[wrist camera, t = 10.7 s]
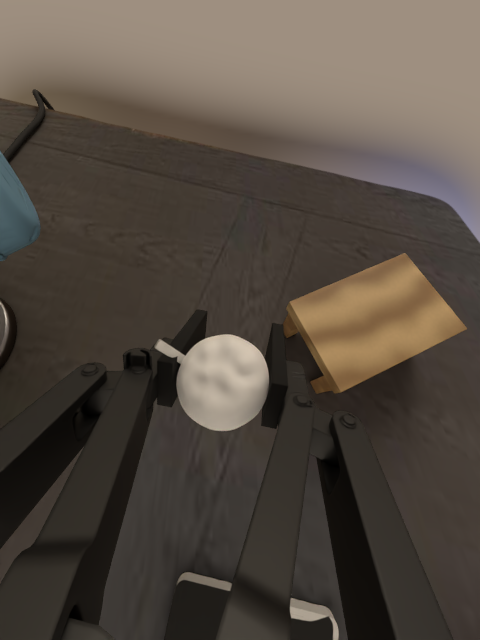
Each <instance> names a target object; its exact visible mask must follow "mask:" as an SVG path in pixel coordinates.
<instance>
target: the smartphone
mask: <svg viewBox="0 0 480 640" xmlns="http://www.w3.org/2000/svg"><path fill="white" fill-rule="evenodd" d="M231 586H232V583H230V582H226V581H222V580H218V579H214V578H210V577H206V576H202V575H198V574H194V573H190V572H185V573H183V574H182V575H181V576H180V578H179V580H178V582H177V585H176V588H175V591H174V596H173V601H172V605H171V610H170V615H169V619H168V624H167V629H166V633H165V638H164V640H216V636H217V633H218V630H219V626H220V623H221V619H222V616H223V613H224V609H225V606H226V602H227V599H228V596H229V592H230V589H231ZM290 614H291V636H290V640H338V626H337V624H336V621H335V619H334V617H333V615H332V613H331V611H330V610H329V609H328V608H327V607H325V606H321V605H317V604H313V603H309V602H306V601H302V600H298V599H294V598H291V600H290Z"/></svg>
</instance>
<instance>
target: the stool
mask: <svg viewBox="0 0 480 640" xmlns="http://www.w3.org/2000/svg"><path fill="white" fill-rule="evenodd" d="M286 309H287V311H288V315H287V317H286V319H285V321H284V323H283V327H284V335H285V336H286V338H288V337H290V336H292V335H295V334H297V332H298V331H299V332H300V334H301V336H302V338H303V339H304V341H305V343H306V345H307V347H308V348H309V350H310V352H311V354H312V355H313V357H314V359H315V361H316V363H317V364H318V366H319V368H320V370H321V371H322V373H323V376H321V377H319V378H317V379H315V380H312V381H310V383H311V385H312V387H313V388H314V390H315V392H316V394H318V393H322V392H327V391H331V390H332V391H333V393H334V394H335V393H340V392H343V391H345V390H347V389H349V388H351V387H353V386H355V385H357V384H359V383H361V382H363V381H365V380H367V379H369V378H371V377H373V376H375V375H377V374H379V373H381V372H383V371H385V370H387V369H389V368H391V367H393V366H395V365H397V364H399V363H401V362H403V361H404V360H406V359H408V358H410V357H412V356H414V355H416V354H418V353H420V352H422V351H424V350H426V349H428V348H430V347H432V346H434V345H436V344H438V343H440V342H442V341H444V340H446V339H448V338H450V337H452V336H454V335H456V334H458V333H460V332H462V331H464V330H466V329H467V328H466V327H465V325H464V324H463V323H462V322H461V321H460V319H459V318H458V317H457V316H456V314H455V313H454V312H453V311H452V310H451V308H450V307H449V306H448V305H447V303H446V302H445V301H444V300H443V299H442V297H441V296H440V295H439V294H438V292H437V291H436V290H435V289H434V288H433V286H432V285H431V284H430V283H429V281H428V280H427V279H426V278H425V277H424V275H423V274H422V273H421V272H420V271H419V269H418V268H417V267H416V266H415V264H414V263H413V262H412V261H411V260H410V258H409V257H408V256H407V255H406V253H404V254H402V255H399V256H397V257H394V258H392V259H390V260H387V261H385V262H383V263H380V264H378V265H376V266H373V267H371V268H369V269H366V270H364V271H361V272H359V273H357V274H354V275H352V276H350V277H347V278H345V279H343V280H340V281H338V282H335V283H333V284H331V285H328V286H326V287H324V288H321V289H319V290H317V291H314V292H312V293H309V294H307V295H305V296H302V297H300V298H298V299H295V300H293V301H291V302H289V304H288V306H287V308H286Z"/></svg>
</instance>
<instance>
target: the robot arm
mask: <svg viewBox="0 0 480 640" xmlns="http://www.w3.org/2000/svg"><path fill="white" fill-rule="evenodd" d="M33 95H34V97H35V99H36V101H37V103H38V106H39V111H38V114H37V115H36V117H35V118H34V120H33V121H32V122H31V123H30V124H29V125H28V126H27V127H26V128H25V129H24V130H23V131H22V132H21V133H20V135H19V136H18V137H17V138H16V139H15V141H14V142H13V143H12V144H11V146H10V147H9V148H8V149H7V150H6V151H5V152H4V154H2V153H1V151H0V261H3V260H5V259H6V258H7V256H8V255H10V254H12V253H14V252H16V251H18V250H20V249H22V248H24V247H26V246H28V245H30V244H32V243H33V242H34V241H36V239H37V238H38V237H39V234H40V221H39V218H38V215H37V212H36V210H35V208H34V206H33V204H32V202H31V200H30V198H29V196H28V194H27V192H26V191H25V189H24V187H23V185H22V184H21V182H20V180H19V179H18V177H17V176H16V174H15V172H14V171H13V169H12V168H11V166H10V165H9V163H8V161H9V160H10V158H11V157H12V156H13V155H14V154H15V152H16V151H17V150H18V149H19V148H20V146H21V145H22V144H23V142H24V141H25V140H26V139H27V138H28V137H29V136H30V134H31V133H32V132H33V131H34V130H35V129H36V128H37V127H38V126H39V125H40V123H41V122H42V120H43V118H44V115H45V107H44V104H45V105H46V107H47V108H48V109H51V110H54V108H53V107H52V106H51V104H50V103H49V102H48V101H47V99H46V98H45V97H44V96H43V95H42V94H41V93H40V92H39V91H37V90H33ZM43 103H44V104H43ZM206 321H207V311H203V310H196V311H195V313H194V314H193V315H192V316H191V318H190V319H189V320H188V322H187V323H186V324H185V325H184V327H183V328H182V329H181V331H180V332H179V333H178V334H177V336H176V337H175V338H174V339H169V338H163V339H161V340H163V341H164V342H166V343H167V344H169V345H170V346H172V347H173V348H175V349H176V350H178V351H179V352H181V353H182V354H184V355H185V356H186V354H187V353H188V352H189V351H190V349H191V348H192V347H193V346H194V345H195V344H197V343H198V342H200V341H201V340H203V339H205V332H206ZM16 331H17V325H16V318H15V315H14V312H13V310H12V309H11V307H10V306H9V305H8V304H7V303H6V302H5V301H4V300H3V299H1V298H0V368H1V367H2V366H3V364H4V363H5V361H6V360H7V358H8V356H9V355H10V353H11V350H12V348H13V345H14V342H15V338H16ZM156 343H157V342H156ZM156 343H155V344H156ZM154 346H155V345H154ZM154 346H153V347H152V348H151V349H150V350H148V349H144V348H135V349H131V350H128V351H126V352H125V353H124V354H123V362H124V370H123V371H106V367H105V366H104V365H103V364H101V363H88V364H85V365H82V366H80V367H78V368H77V369H75V370H74V371H73V372H72V373H70V374H69V375H68V376H67V377H65V378H64V379H63V380H62V381H60V382H59V383H58V384H56V385H55V386H54V387H53V388H51V389H50V390H49V391H48V392H46V393H45V394H44V395H43V396H41V397H40V398H39V399H38V400H36V401H35V402H34V403H33V404H31V405H30V406H29V407H28V408H26V409H25V410H24V411H23V412H21V413H20V414H19V415H18V416H16V417H15V418H14V419H13V420H11V421H10V422H9V423H7V424H6V425H5V426H4V427H2V428H1V429H0V549H1V547H2V546H3V545H4V544H5V542H6V541H7V540H8V539H9V538H10V536H11V535H12V534H13V533H14V531H15V530H16V529H17V528H18V526H19V525H20V524H21V523H22V521H23V520H24V519H25V518H26V517H27V515H28V514H29V513H30V512H31V510H32V509H33V508H34V507H35V505H36V504H37V503H38V502H39V501H40V499H41V498H42V497H43V496H44V494H45V493H46V492H47V491H48V489H49V488H50V487H51V486H52V485H53V483H54V482H55V481H56V480H57V478H58V477H59V476H60V475H61V473H62V472H63V471H64V470H65V469H66V467H67V466H68V465H69V464H70V462H71V461H72V460H73V459H74V457H75V456H76V455H77V454H78V453H79V451H80V450H81V449H82V448H83V446H84V445H85V446H84V448H83V450H82V452H81V454H80V456H79V458H78V460H77V462H76V464H75V466H74V467H73V469H72V471H71V473H70V475H69V477H68V479H67V481H66V483H65V485H64V487H63V489H62V491H61V493H60V495H59V497H58V499H57V501H56V503H55V504H54V506H53V508H52V510H51V512H50V514H49V516H48V518H47V520H46V522H45V524H44V526H43V528H42V530H41V532H40V534H39V536H38V537H37V539H36V541H35V542H34V544H33V545H32V546H31V547H30V548H28V549H26V550H24V551H22V552H21V553H20V554H19V555H18V556H17V558H16V559H15V560H14V561H13V563H12V565H11V566H10V568H9V569H8V571H7V573H6V574H5V576H4V578H3V580H2V582H1V583H0V640H115V639H114V638H113V637H112V636H111V635H109V634H108V633H107V632H106V631H105V630H104V629H102V628H101V627H100V626H99V625H98V624H99V620H100V615H101V610H102V603H103V595H104V589H105V584H106V580H107V577H108V573H109V569H110V566H111V562H112V558H113V555H114V551H115V547H116V544H117V540H118V537H119V533H120V529H121V526H122V522H123V518H124V515H125V511H126V507H127V504H128V500H129V496H130V493H131V489H132V485H133V482H134V478H135V474H136V471H137V467H138V463H139V460H140V456H141V453H142V449H143V445H144V442H145V438H146V434H147V431H148V427H149V423H150V420H151V416H152V412H153V402H154V401H155V399H156V398H157V404H158V405H163V406H168V407H172V405H173V404H174V402H175V400H176V398H177V396H178V394H177V387H176V380H177V374H178V370H179V368H180V365H181V364H180V363H178V362H177V357H178V356H177V357H175V358H173V359H171V358H170V357H168V356H166V355H165V354H163V353H161V352H160V351H158V350H156V349H155V348H154ZM265 361H266V364H267V368H268V372H269V391H268V395H267V398H266V401H265V403H264V405H263V407H262V423H261V426H265V427H270V428H275V429H276V428H277V424H278V430H277V434H276V437H275V441H274V444H273V447H272V451H271V454H270V457H269V461H268V464H267V468H266V471H265V474H264V478H263V481H262V485H261V488H260V491H259V495H258V498H257V502H256V505H255V508H254V512H253V515H252V518H251V522H250V525H249V529H248V532H247V535H246V539H245V542H244V546H243V549H242V552H241V556H240V559H239V562H238V566H237V569H236V573H235V576H234V579H233V582H232V586H231V589H230V592H229V596H228V599H227V602H226V606H225V609H224V613H223V616H222V619H221V623H220V626H219V630H218V633H217V636H216V640H290V636H291V614H290V600H291V592H292V584H293V577H294V569H295V561H296V553H297V546H298V538H299V530H300V522H301V515H302V507H303V499H304V491H305V484H306V476H307V468H308V460H309V454H311V455H313V456H315V457H317V464H318V469H319V475H320V481H321V487H322V492H323V498H324V504H325V510H326V515H327V521H328V527H329V532H330V538H331V544H332V550H333V555H334V561H335V567H336V573H337V578H338V584H339V590H340V595H341V601H342V607H343V613H344V618H345V624H346V630H347V635H348V640H453V638H452V635H451V633H450V630H449V628H448V626H447V623H446V621H445V619H444V616H443V614H442V611H441V609H440V607H439V604H438V602H437V600H436V597H435V595H434V592H433V590H432V588H431V585H430V583H429V580H428V578H427V576H426V573H425V571H424V569H423V566H422V564H421V561H420V559H419V557H418V554H417V552H416V549H415V547H414V545H413V542H412V540H411V538H410V535H409V533H408V530H407V528H406V526H405V523H404V521H403V518H402V516H401V514H400V511H399V509H398V507H397V504H396V502H395V499H394V497H393V495H392V492H391V490H390V488H389V485H388V483H387V480H386V478H385V476H384V473H383V471H382V468H381V466H380V464H379V461H378V459H377V457H376V454H375V452H374V449H373V447H372V445H371V442H370V440H369V437H368V435H367V433H366V430H365V428H364V426H363V424H362V422H361V421H360V420H359V419H358V418H357V417H356V416H355V415H353V414H351V413H350V412H346V411H340V410H339V411H336V412H334V414H333V415H331V414H328V413H326V412H324V411H322V410H320V409H318V408H317V407H316V406H315V402H314V401H313V399H312V398H310V397H309V392H308V387H307V382H306V376H305V371H304V368H303V366H302V365H301V364H300V363H299V362H294V361H288V360H286V352H285V340H284V327H283V325H281V324H275V323H272V328H271V333H270V337H269V342H268V346H267V351H266V355H265Z"/></svg>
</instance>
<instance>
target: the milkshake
mask: <svg viewBox="0 0 480 640" xmlns="http://www.w3.org/2000/svg"><path fill="white" fill-rule="evenodd" d="M154 348H155V349H156V350H158V351H160V352H161V353H163V354H165V355H166V356H168V357H170V358H171V359H173V358H175V357H177V356H178V357H177V362H178V363H180V364H181V365H180V368H179V370H178V374H177V380H176V387H177V394H178V397H179V400H180V403H181V405H182V407H183V409H184V410H185V412H186V413H187V414H188V416H189V417H190V418H192V419H193V420H194V421H195V422H197V423H198V424H200V425H202V426H204V427H206V428H208V429H211V430H216V431H229V430H233V429H236V428H238V427H240V426H242V425H244V424H246V423H247V422H249V421H250V420H252V419H253V418H254V417H255V416H256V415H257V414H258V413H259V412H260V410H261V409H262V407H263V405H264V403H265V401H266V398H267V395H268V391H269V372H268V368H267V364H266V361H265V359H264V357H263V355H262V354H261V352H260V351H259V350H258V349H257V348H256V347H255V346H254V345H252V344H251V343H249V342H248V341H246V340H244V339H242V338H240V337H237V336H234V335H228V334H226V335H218V336H213V337H209V338H206V339H203V340H201V341H200V342H198V343H197V344H195V345H194V346H193V347H192V348H191V349H190V351H189V352H188V353H187V354H186V356H185V355H184V354H182V353H181V352H179V351H178V350H176V349H175V348H173V347H172V346H170V345H169V344H167V343H166V342H164V341H163V340H161V339H159V340H158V341H157V343H156V344H155V346H154Z"/></svg>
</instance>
